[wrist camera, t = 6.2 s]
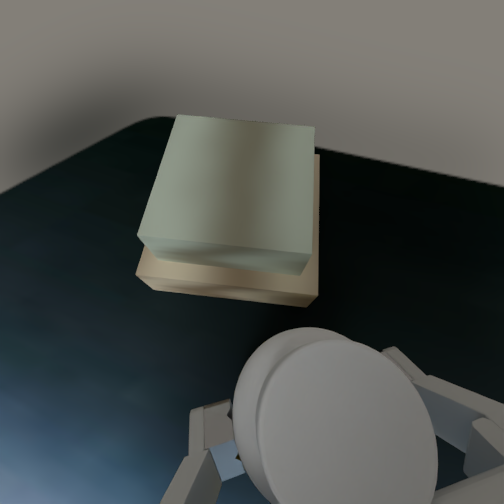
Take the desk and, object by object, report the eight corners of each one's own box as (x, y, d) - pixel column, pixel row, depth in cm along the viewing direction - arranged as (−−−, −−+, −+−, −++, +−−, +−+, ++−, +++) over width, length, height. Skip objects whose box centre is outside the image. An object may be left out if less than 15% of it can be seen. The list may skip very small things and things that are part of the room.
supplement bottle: (340, 452, 14) (519, 619, 5) (236, 452, 13) (212, 619, 5) (328, 343, 16) (434, 311, 7) (239, 342, 16) (227, 309, 7)
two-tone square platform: (154, 289, 17) (108, 252, 11) (186, 170, 21) (164, 101, 16) (306, 307, 17) (334, 278, 11) (310, 182, 21) (332, 116, 15)
